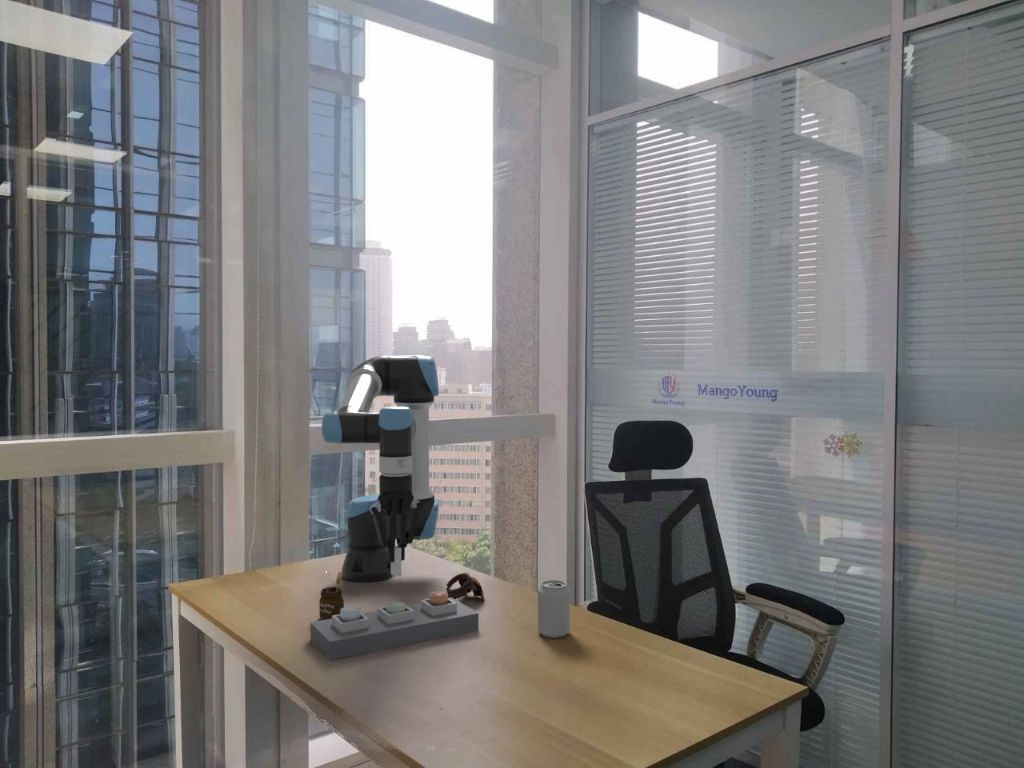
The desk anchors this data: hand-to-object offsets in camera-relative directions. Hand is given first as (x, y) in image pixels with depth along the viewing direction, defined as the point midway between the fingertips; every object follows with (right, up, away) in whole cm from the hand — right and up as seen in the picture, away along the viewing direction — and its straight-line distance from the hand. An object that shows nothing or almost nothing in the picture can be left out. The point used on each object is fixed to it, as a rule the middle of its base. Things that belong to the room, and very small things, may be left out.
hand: (396, 574), depth 182 cm
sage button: (0, -9, 0) cm, 9 cm away
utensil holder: (-18, -14, +12) cm, 25 cm away
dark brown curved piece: (+15, -13, +27) cm, 33 cm away
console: (0, -14, 0) cm, 14 cm away
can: (+37, -14, +2) cm, 39 cm away
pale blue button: (-9, -8, -5) cm, 14 cm away
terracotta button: (+9, -8, +6) cm, 14 cm away
